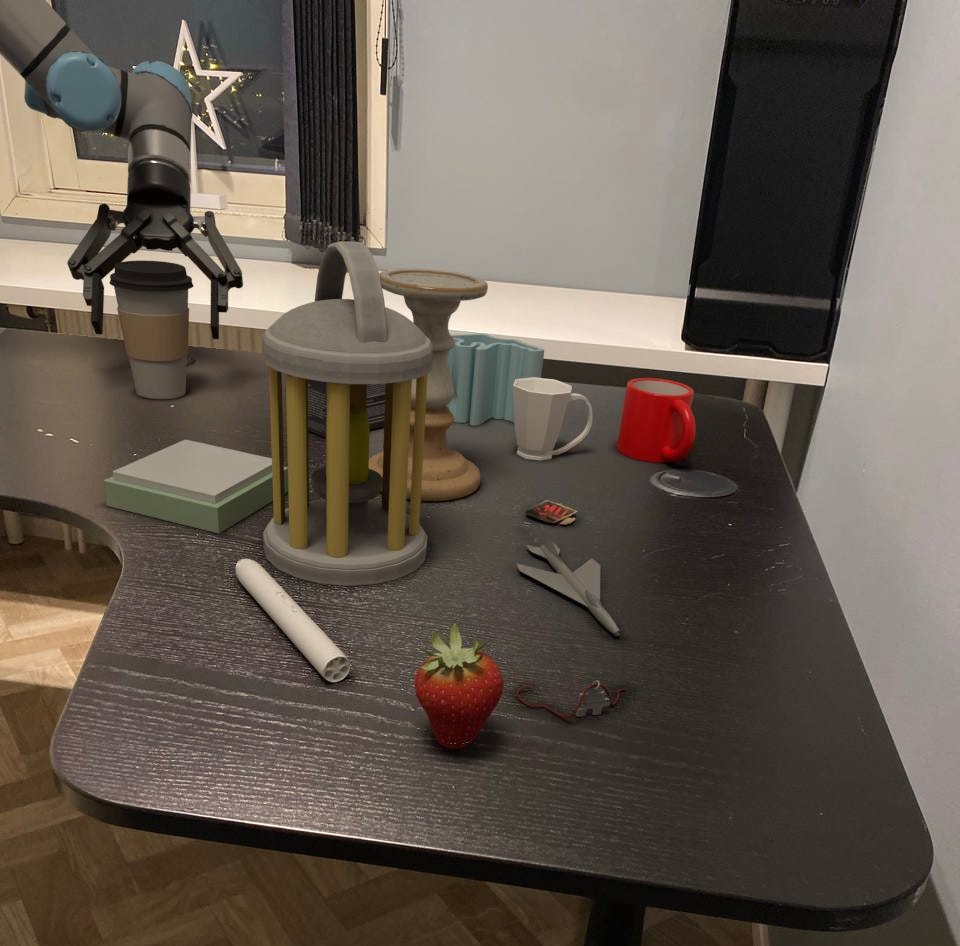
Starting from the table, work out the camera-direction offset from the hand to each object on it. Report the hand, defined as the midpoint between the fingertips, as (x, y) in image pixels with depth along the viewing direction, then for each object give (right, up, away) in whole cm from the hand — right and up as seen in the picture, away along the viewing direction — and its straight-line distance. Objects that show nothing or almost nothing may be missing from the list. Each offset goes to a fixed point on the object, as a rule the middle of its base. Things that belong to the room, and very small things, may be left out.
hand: (156, 330), depth 110 cm
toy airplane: (+46, -32, -32) cm, 65 cm away
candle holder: (+33, -21, -14) cm, 41 cm away
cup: (+47, -16, -3) cm, 50 cm away
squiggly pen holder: (+36, -9, +6) cm, 38 cm away
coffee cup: (-1, -7, +5) cm, 8 cm away
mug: (+61, -16, 0) cm, 63 cm away
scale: (+12, -24, -23) cm, 35 cm away
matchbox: (+46, -25, -20) cm, 56 cm away
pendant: (+46, -42, -48) cm, 78 cm away
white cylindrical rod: (+24, -36, -42) cm, 61 cm away
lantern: (+27, -30, -30) cm, 50 cm away
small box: (+23, -12, 0) cm, 26 cm away
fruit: (+37, -44, -53) cm, 78 cm away
